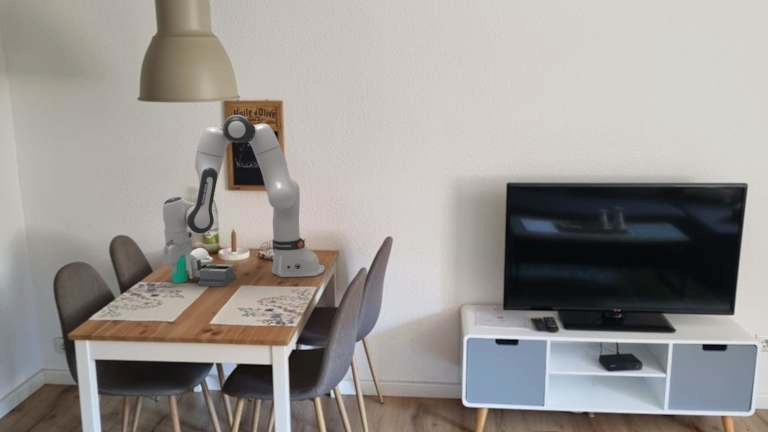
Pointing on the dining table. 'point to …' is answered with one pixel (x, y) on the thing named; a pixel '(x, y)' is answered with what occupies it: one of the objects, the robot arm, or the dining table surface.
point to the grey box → (217, 275)
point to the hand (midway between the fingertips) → (179, 269)
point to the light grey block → (194, 268)
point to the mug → (199, 257)
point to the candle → (180, 271)
